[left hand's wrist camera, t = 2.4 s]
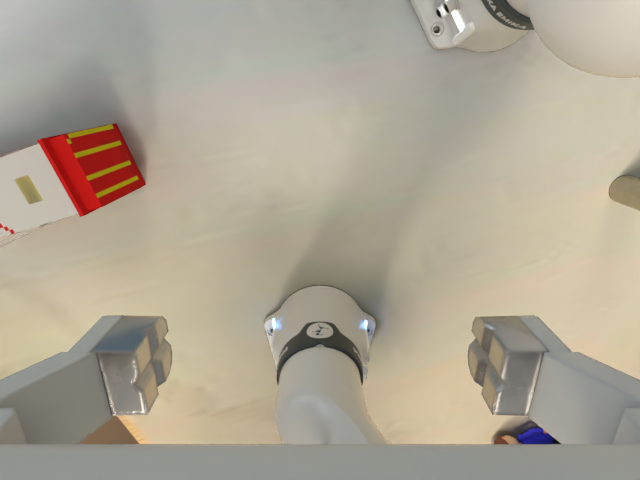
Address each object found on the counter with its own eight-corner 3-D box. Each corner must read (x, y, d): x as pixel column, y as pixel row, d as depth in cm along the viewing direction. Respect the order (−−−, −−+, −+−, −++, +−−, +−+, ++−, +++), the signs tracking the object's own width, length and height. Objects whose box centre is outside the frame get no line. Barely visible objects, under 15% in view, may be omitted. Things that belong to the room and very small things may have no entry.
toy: (-140, 192, 48) (49, 120, 41) (-36, 167, 60) (124, 108, 53) (-76, 276, 52) (106, 224, 45) (9, 237, 64) (163, 191, 57)
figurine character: (560, 406, 74) (486, 430, 74) (591, 437, 67) (508, 465, 67) (563, 431, 77) (491, 455, 77) (593, 464, 69) (513, 491, 69)
